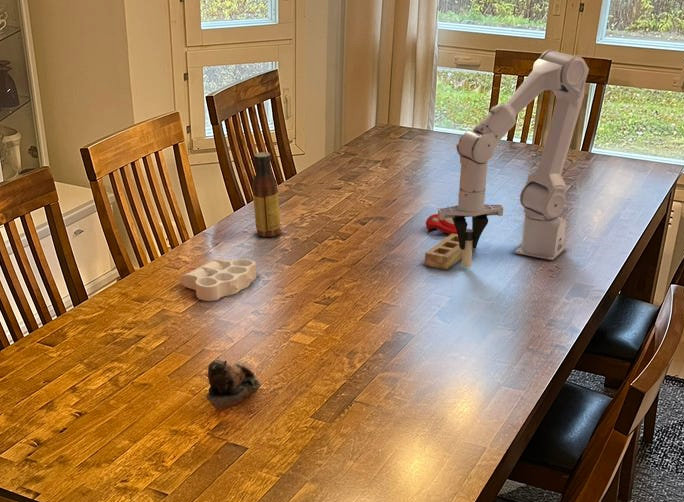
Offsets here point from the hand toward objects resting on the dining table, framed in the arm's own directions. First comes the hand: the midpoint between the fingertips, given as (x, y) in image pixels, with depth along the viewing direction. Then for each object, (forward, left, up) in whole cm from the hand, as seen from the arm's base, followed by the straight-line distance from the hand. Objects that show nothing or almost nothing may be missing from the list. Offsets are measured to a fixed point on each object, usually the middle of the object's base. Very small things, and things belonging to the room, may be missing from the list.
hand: (467, 247), depth 228 cm
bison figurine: (+10, +78, -5) cm, 79 cm away
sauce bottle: (+53, +4, -5) cm, 53 cm away
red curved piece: (+15, -22, -5) cm, 27 cm away
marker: (0, 0, -4) cm, 4 cm away
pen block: (+6, -5, -5) cm, 9 cm away
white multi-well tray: (+44, +36, -5) cm, 57 cm away
